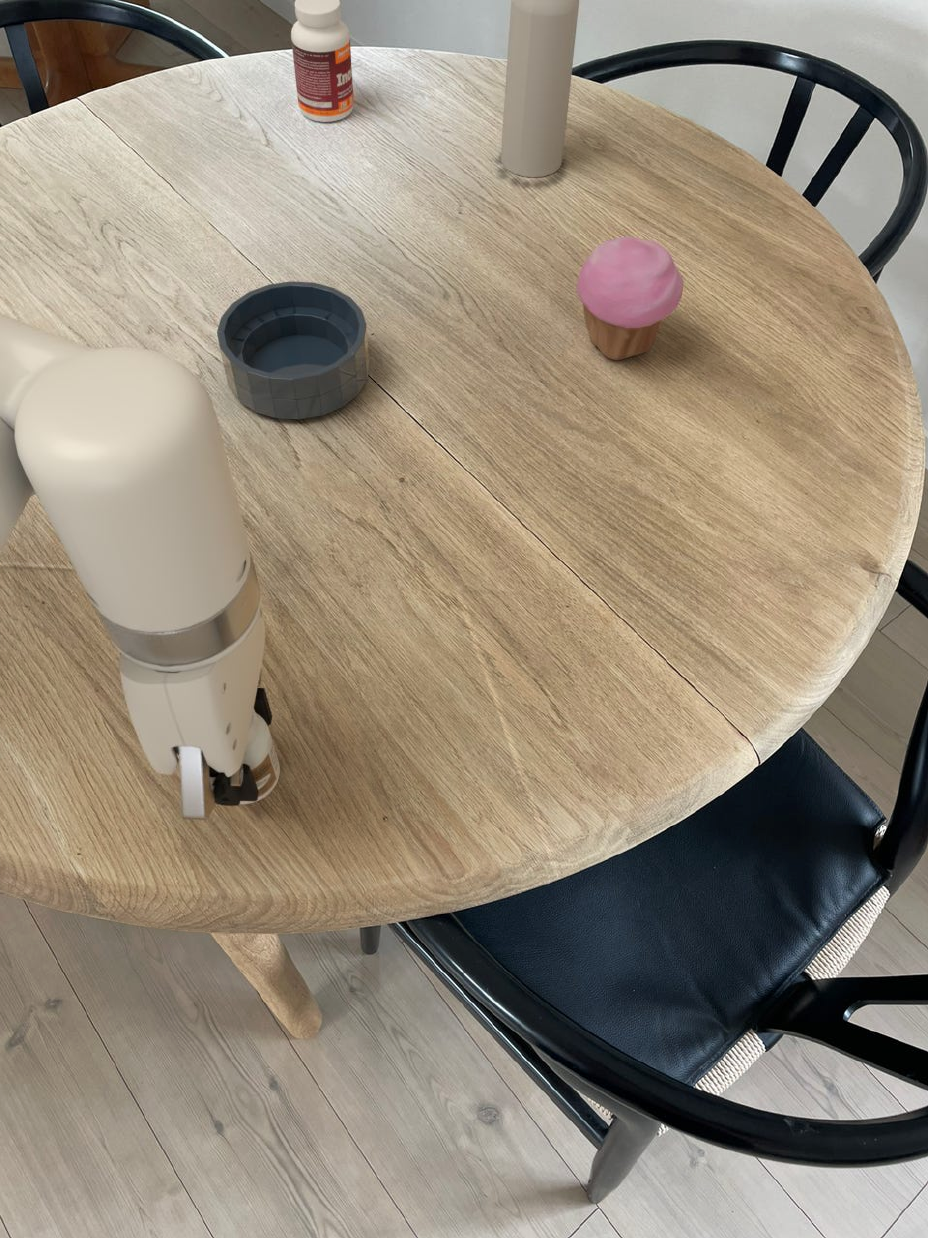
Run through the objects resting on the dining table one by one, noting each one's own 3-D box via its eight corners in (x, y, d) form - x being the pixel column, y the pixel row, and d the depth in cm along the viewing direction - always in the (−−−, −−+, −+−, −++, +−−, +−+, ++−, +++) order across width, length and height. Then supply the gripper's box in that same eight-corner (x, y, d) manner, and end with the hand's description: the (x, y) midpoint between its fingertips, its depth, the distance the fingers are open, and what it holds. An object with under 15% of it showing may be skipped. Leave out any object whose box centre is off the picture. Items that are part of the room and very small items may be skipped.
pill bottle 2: (350, 125, 107) (343, 18, 98) (294, 122, 107) (282, 14, 98) (357, 96, 111) (351, -11, 101) (303, 92, 111) (292, -14, 102)
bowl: (216, 420, 81) (204, 374, 77) (241, 324, 88) (232, 277, 84) (361, 428, 81) (357, 382, 77) (375, 331, 88) (372, 285, 84)
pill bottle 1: (218, 814, 62) (193, 760, 56) (208, 753, 64) (183, 696, 58) (286, 796, 63) (269, 742, 56) (274, 737, 65) (257, 679, 59)
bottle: (515, 136, 107) (538, -180, 84) (571, 152, 105) (610, -165, 82) (490, 166, 103) (507, -155, 80) (547, 183, 102) (581, -139, 79)
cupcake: (685, 357, 87) (711, 261, 79) (607, 391, 85) (626, 295, 76) (625, 301, 91) (644, 204, 83) (549, 332, 89) (561, 235, 80)
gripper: (140, 454, 51) (207, 642, 66) (48, 744, 42) (151, 885, 57) (282, 462, 51) (317, 648, 66) (223, 753, 42) (279, 892, 57)
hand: (240, 756), depth 61 cm, fingers closed on pill bottle 1, 4 cm apart
